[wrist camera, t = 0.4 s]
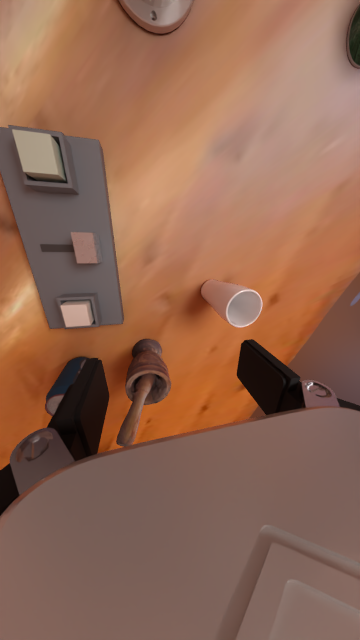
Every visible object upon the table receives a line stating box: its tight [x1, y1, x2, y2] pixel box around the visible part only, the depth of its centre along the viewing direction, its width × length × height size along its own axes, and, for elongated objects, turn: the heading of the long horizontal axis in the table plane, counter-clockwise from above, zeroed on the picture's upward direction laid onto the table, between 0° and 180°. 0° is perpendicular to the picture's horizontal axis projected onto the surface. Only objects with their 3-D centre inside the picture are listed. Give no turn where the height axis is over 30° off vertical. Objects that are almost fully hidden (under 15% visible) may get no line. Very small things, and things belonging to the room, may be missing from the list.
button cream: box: [60, 300, 94, 327], centre depth 31 cm, size 4×4×3 cm
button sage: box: [12, 129, 67, 183], centre depth 23 cm, size 4×4×3 cm
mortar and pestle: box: [116, 339, 171, 447], centre depth 35 cm, size 12×9×20 cm
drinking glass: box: [201, 279, 262, 327], centre depth 34 cm, size 7×7×15 cm
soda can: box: [45, 357, 90, 416], centre depth 36 cm, size 7×7×12 cm
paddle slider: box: [71, 232, 103, 263], centre depth 28 cm, size 4×3×4 cm
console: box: [0, 125, 124, 329], centre depth 29 cm, size 30×14×6 cm, turn 0°
